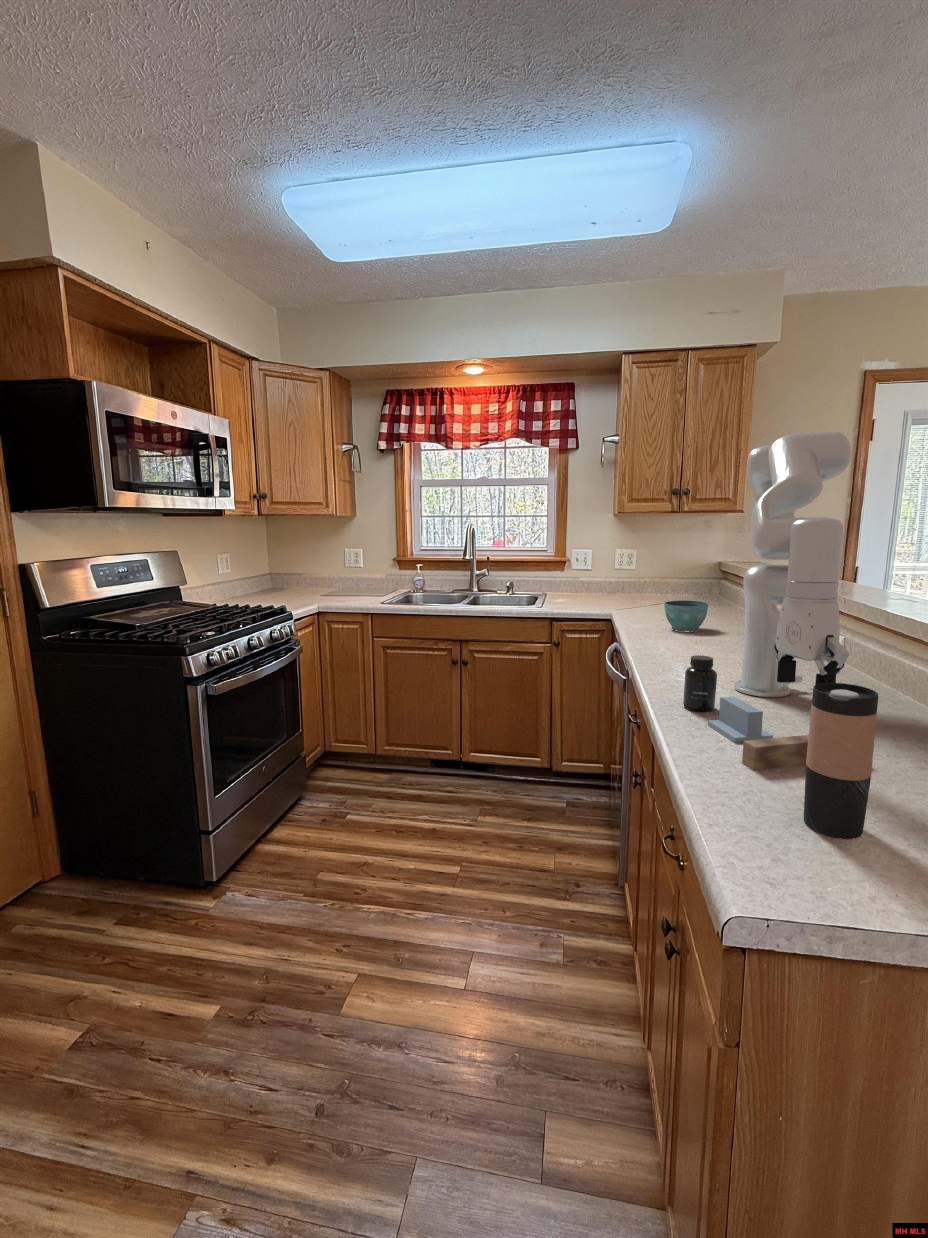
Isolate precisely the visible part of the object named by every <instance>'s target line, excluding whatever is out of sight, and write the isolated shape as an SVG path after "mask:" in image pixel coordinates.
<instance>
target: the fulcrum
mask: <svg viewBox="0 0 928 1238" xmlns="http://www.w3.org/2000/svg"><path fill="white" fill-rule="evenodd" d="M718 715H719V716H718V719H713V720H711V719H710V720H707V726H708V727H710V728H712V730H714V731H716V732H717V733H719V734H720V735H722V736H723V737H724V738H727V739H728V740H730V741H731V742H733V743H735V744H736V743H743V742H744V741H749V740H759V739H770V738H774V734H772V733H770V732H768V731H766V730H764V729H763V715H764V711H762V710H760V709H758V708H756V707H754V706H753V705H750V704H749V703H747V702H745V701H744V700H741V699H739V698H738V697H736V696H721V697H720V698H719V713H718Z"/></svg>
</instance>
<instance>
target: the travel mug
mask: <svg viewBox="0 0 928 1238" xmlns="http://www.w3.org/2000/svg"><path fill="white" fill-rule="evenodd" d="M878 704H879V694H878V692H877V691H876V690H874V689H871V688H868V687H865V686H862V685H858V684H857V685H856V684H852V683H842V682H836V683H820V684H816V685H815V684H814V685H813V688H812V699H811V707H810V708H811V709H810V719H809V729H808V735H809V738H808V748H807V759H806V765H805V777H804V778H805V780H804V781H805V782H804V797H803V798H804V799H803V800H804V801H803V822H804V824H805V825H806V826H807V828H809V829H811V830H812V831H815V832H816V833H818V832H819V833H818V834H820V833H821V834H820V835H823V834H824V835H823V836H826V837H829V836H830V837H829V838H833V837H834V839H838V838H842V839H841V840H853V839H852V838H855V839H859V838H860V837H862V835H863V832H864V827H865V822H866V821H865V820H866V816H867V815H866V814H867V806H868V801H869V794H870V787H871V786H870V785H871V780H872V772H873V759H874V748H875V740H876V739H875V737H876V727H877V716H878V715H877V714H878Z"/></svg>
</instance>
